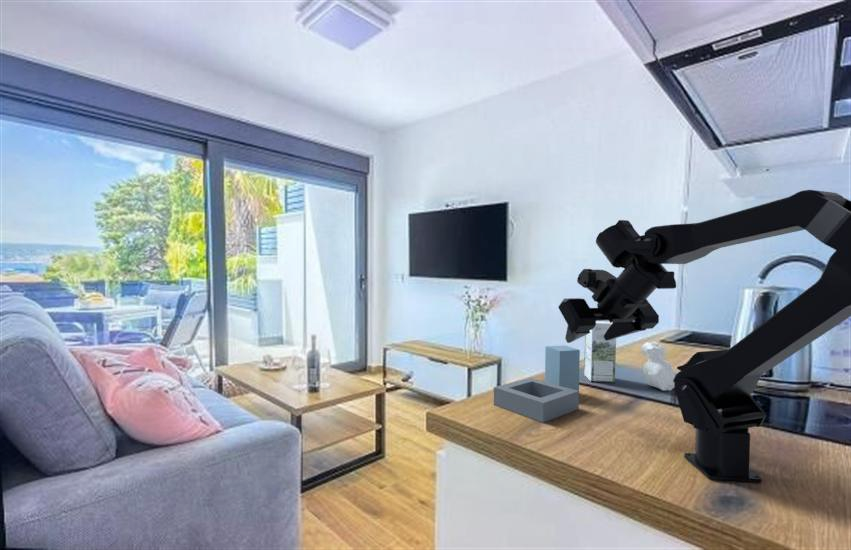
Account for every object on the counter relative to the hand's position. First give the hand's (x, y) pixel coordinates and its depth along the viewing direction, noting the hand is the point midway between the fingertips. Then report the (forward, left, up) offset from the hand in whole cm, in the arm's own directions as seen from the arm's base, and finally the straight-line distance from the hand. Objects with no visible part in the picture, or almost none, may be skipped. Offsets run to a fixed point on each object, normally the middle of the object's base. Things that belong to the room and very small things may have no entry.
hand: (586, 339), depth 80 cm
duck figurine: (+16, -21, -13) cm, 29 cm away
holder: (-2, +10, -13) cm, 17 cm away
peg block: (+7, +3, -13) cm, 15 cm away
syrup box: (+20, -9, -13) cm, 26 cm away
